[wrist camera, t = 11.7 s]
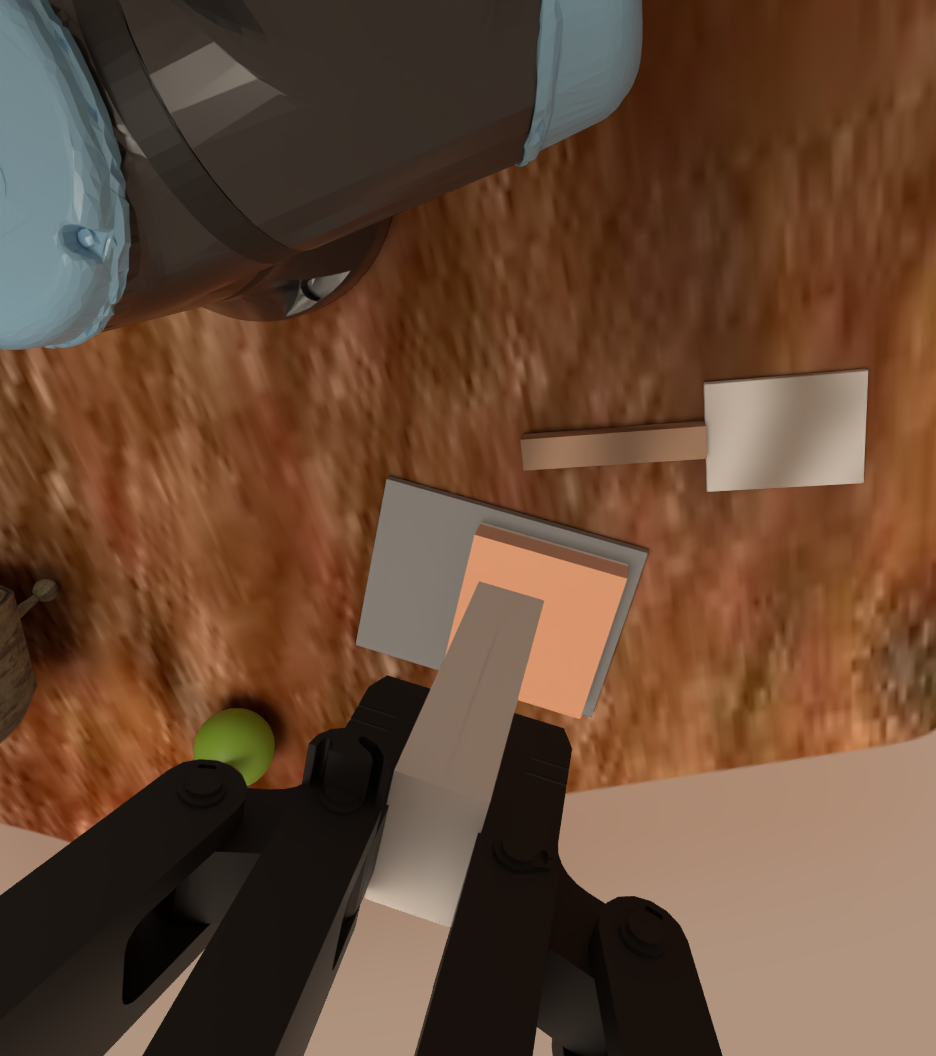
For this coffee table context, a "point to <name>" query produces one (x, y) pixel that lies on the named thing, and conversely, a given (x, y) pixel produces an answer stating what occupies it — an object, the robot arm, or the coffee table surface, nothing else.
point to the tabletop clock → (17, 655)
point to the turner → (738, 435)
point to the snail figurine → (237, 742)
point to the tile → (550, 609)
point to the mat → (456, 571)
